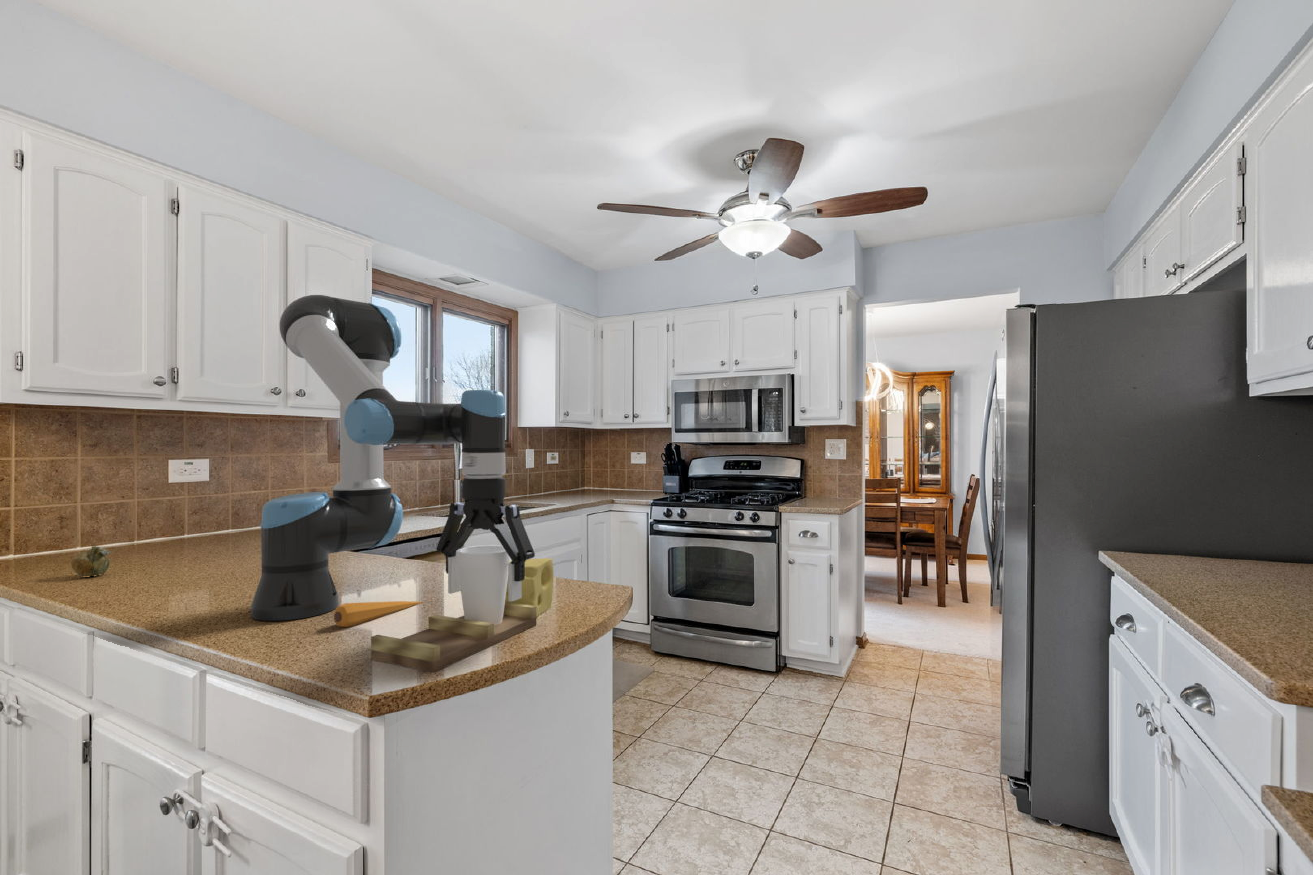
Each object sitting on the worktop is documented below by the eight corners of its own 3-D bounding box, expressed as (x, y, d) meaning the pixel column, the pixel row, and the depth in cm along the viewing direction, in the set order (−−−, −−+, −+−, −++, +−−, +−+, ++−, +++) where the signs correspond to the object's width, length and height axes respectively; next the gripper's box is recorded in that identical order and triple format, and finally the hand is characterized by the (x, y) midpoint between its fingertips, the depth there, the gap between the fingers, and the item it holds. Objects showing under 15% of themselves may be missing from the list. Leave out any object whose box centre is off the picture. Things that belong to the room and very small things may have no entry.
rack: (370, 659, 94) (370, 636, 94) (480, 616, 117) (480, 598, 117) (433, 672, 89) (433, 648, 89) (536, 625, 112) (536, 606, 112)
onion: (112, 572, 162) (112, 542, 162) (110, 577, 155) (110, 545, 155) (73, 576, 157) (73, 545, 157) (68, 581, 151) (69, 549, 151)
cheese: (534, 621, 114) (534, 568, 115) (481, 618, 117) (481, 566, 117) (554, 606, 125) (554, 557, 125) (505, 604, 127) (505, 556, 127)
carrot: (340, 634, 110) (349, 611, 109) (326, 621, 112) (334, 599, 111) (426, 616, 128) (434, 597, 127) (412, 606, 130) (420, 586, 129)
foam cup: (464, 615, 113) (464, 545, 113) (514, 614, 113) (514, 544, 114) (450, 631, 103) (450, 554, 104) (505, 629, 104) (505, 553, 104)
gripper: (415, 476, 111) (416, 593, 110) (528, 479, 100) (528, 608, 100) (446, 474, 117) (446, 584, 117) (554, 476, 107) (554, 597, 107)
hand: (484, 595), depth 109 cm, fingers open, 13 cm apart
